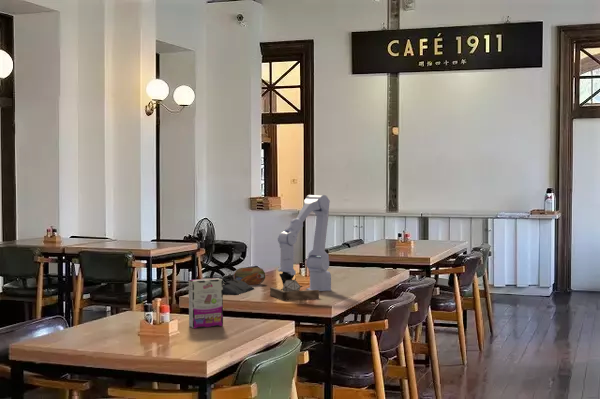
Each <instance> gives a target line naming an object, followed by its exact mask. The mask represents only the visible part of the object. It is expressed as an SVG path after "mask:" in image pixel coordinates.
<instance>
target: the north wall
mask: <svg viewBox="0 0 600 399" xmlns="http://www.w3.org/2000/svg"><path fill="white" fill-rule="evenodd" d="M284 294H286V292H283V294H282V296H284ZM286 296H287V298H285V299H287V300H285V299H284V297H286ZM286 296H284V297H282V298H283V300H282V301H293V300H294V301H296V300H297V301H299V300H312V299H314V300H315V299H320V291H319V290H307V289H306V290H299V291H287V294H286Z"/></svg>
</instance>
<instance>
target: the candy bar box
mask: <svg viewBox="0 0 600 399" xmlns="http://www.w3.org/2000/svg"><path fill="white" fill-rule="evenodd" d="M223 282H224V281H223V279H222V278H220V277H214V278H213V277H211V278H200V279H199V278H198V279H189V280H188V327H190V328H192V329H204V328H214V327H215V328H216V327H222V326H223V325H224V303H223V302H224V294H223V285H224V284H223Z"/></svg>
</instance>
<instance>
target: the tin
mask: <svg viewBox="0 0 600 399" xmlns="http://www.w3.org/2000/svg"><path fill="white" fill-rule="evenodd" d="M233 279H238V280H240V281H243V282H245V283H247V285H249V286H255V285H261V284H262V283H264V282H265V279H266V272H265V270H264V269H263V268H261V267H257V266H256V267H255V266H253V267H252V266H251V267H239V268H238V269H236V270H235V272H234V274H233Z"/></svg>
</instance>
